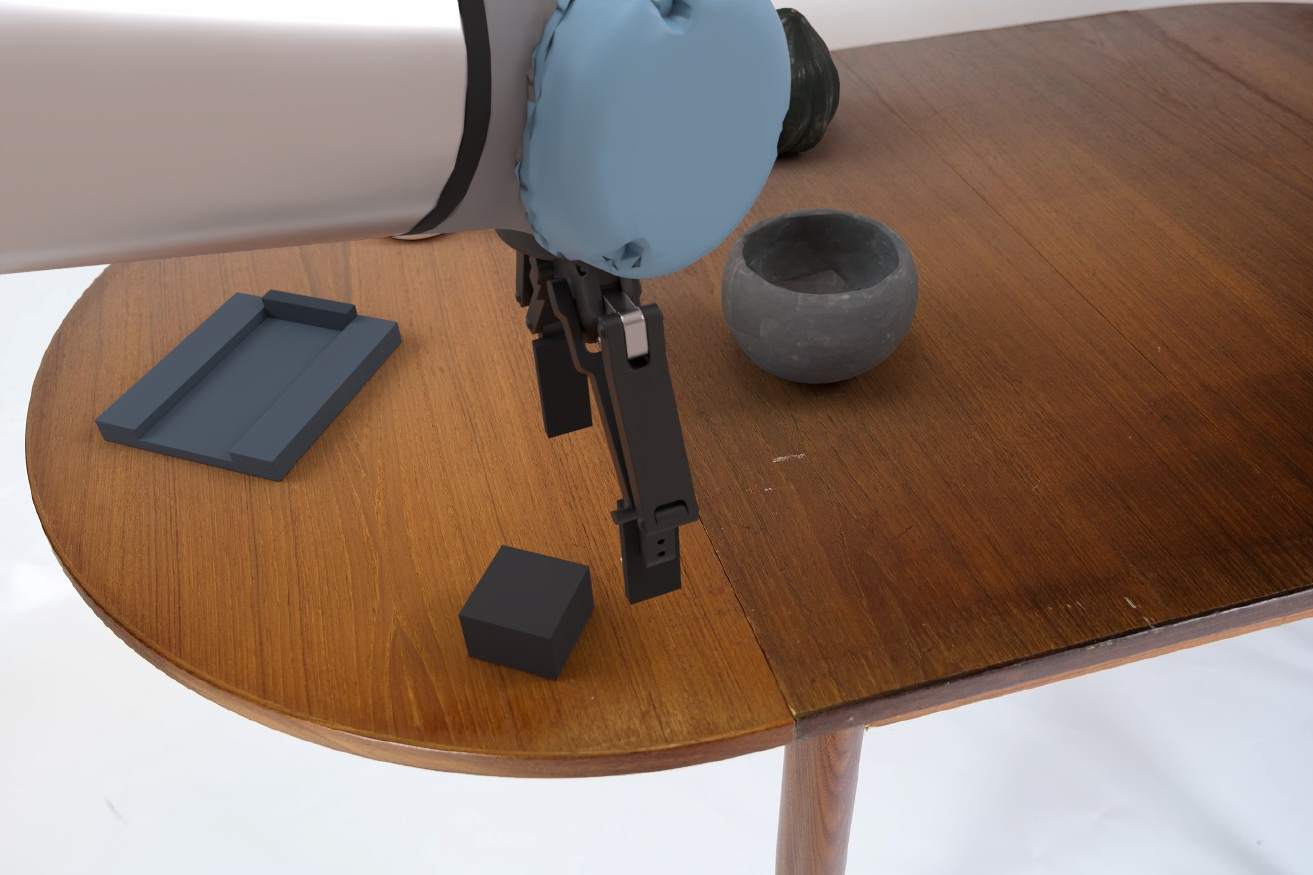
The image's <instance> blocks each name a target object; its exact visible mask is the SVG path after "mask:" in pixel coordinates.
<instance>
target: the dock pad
mask: <svg viewBox="0 0 1313 875" xmlns="http://www.w3.org/2000/svg"><path fill="white" fill-rule="evenodd" d="M400 331H401V330H400V326H399V322H398V321H393V320H390V319H384V318H378V317H372V316H368V315H363V314H358V310H357V306H356V304H353V303H348V302H342V301H338V300H332V299H326V298H320V297H315V296H309V295H304V294H298V293H294V292H288V291H283V290H276V289H271V288H270V289H269V290H268V291H267V292H266V293H264V295H263V296H260V295H254V294H249V293H244V292H239V291H237V292H235V293H234V294H232V296H231V297H230V298H229V299H227V300H226V301H225V302H224V303H223V304H221V306H219V307H218V308H217V309H216V310H215V311H214V312H212V313H211V314H210V316H207V318H206V319H205V320H204V321H202V322H201V323H200V324H199V325H198V327H196V328H195V329H194V330H193V331H192V332H190V333H189V334H188V335H187V336H186V337H184V339H182V341H181V342H179V343H178V344H177V345H176V346H175V347H173V349H172V350H170V352H168V353H167V354H166V355H165V356H164V357H163V358H161V359H160V360H159V361H158V362H157V363H156V364H155V365H154V366H153V367H151V368H150V369H149V370H148V371H147V372H146V373H145V374H143V376H141V378H139V379H138V381H136V382H135V383H134V384H132V386H130V388H128V389H127V390H126V391H125V392H124V393H123V394H122V395H121V396H120V397H119V398H117V399H116V400H115V401H114V402H113V403H112V404H110V406H108V408H106V409H105V410H104V411H103V412H102V413H101V414H99V415H98V416H97V417H96V418H95V419H94V423H95V424H96V426H97V428H98V430H99V432H100V435H101V436H102V437H101V438H102V439H103V440H104V441H108V442H111V443H117V444H120V445H124V446H128V447H132V448H137V449H141V450H145V451H149V452H153V453H158V454H162V455H166V456H170V457H175V458H179V459H183V460H186V461H187V460H188V461H191V462H195V463H198V464H203V465H208V466H212V467H216V468H220V469H224V470H229V471H232V472H237V473H240V474H245V475H250V476H252V477H253V476H254V477H256V478H257V477H258V478H262V479H265V480H270V481H275V482H278V483H279V482H281V481H282V480H283V479H284V477H285V476H286V475H287V474H288V473H289V472H290V470H291V469H292V468H293V467H294V466H295V465H296V464H297V462H298V461H299V460H300V459H301V458H302V457H303V455H305V453H306V452H307V451H308V450H309V448H311V446H312V445H313V444H315V442H316V441H317V440H318V438H319V437H320V436H321V435H322V434H323V433H324V432H325V430H327V428H329V426H330V425H331V424H332V422H333V421H334V420H335V419H336V418H337V417H338V415H339V414H340V413H341V412H342V411H343V410H344V408H345V407H346V406H347V405H348V404H349V403H350V401H352V399H353V398H354V397H355V396H356V395H357V393H359V391H360V390H361V389H362V388H363V387H364V386H365V384H366V383H367V382H368V381H369V380H370V378H372V376H373V375H374V374H375V373H376V372H377V370H378V369H380V368H381V366H382V365H383V364H384V363H385V362H386V360H387V359H388V358H389V357H390V356H391V354H393V352H394V351H395V350H396V349H397V348H398V346H399V345H400V344H401V343H402V342H403V339H402V336H401V332H400Z"/></svg>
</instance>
